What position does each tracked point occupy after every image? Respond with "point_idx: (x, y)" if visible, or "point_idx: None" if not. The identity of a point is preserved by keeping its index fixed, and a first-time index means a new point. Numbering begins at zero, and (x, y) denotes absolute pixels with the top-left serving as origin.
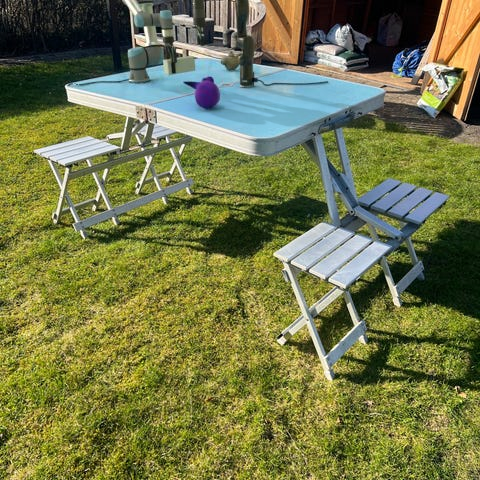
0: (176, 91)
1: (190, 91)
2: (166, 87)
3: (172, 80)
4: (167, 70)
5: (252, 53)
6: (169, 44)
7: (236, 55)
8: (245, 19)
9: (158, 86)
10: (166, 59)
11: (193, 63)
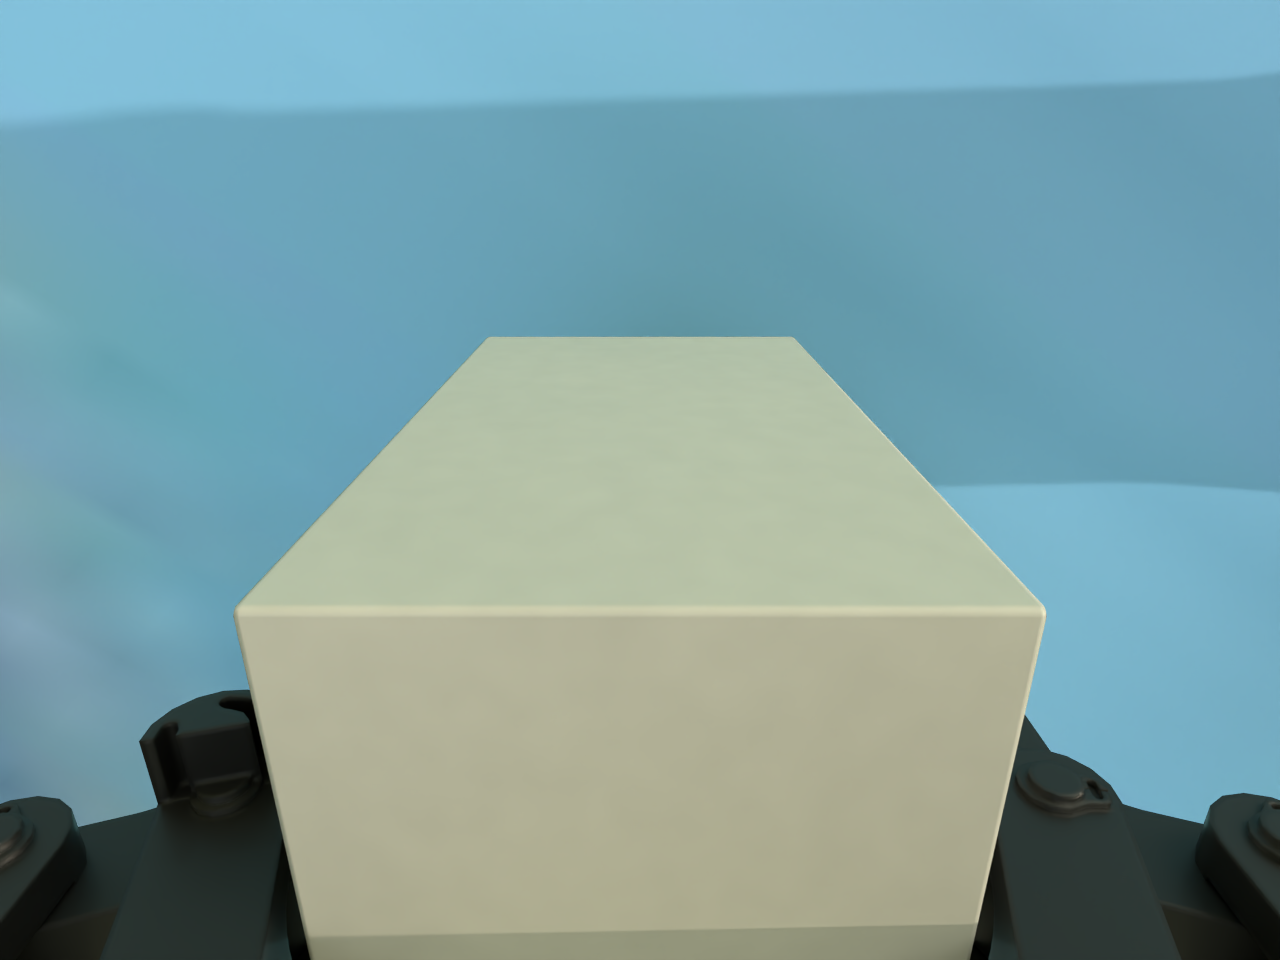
0: (248, 246)
1: (71, 462)
2: (796, 331)
3: (1234, 783)
4: (531, 376)
5: None
6: None
7: None
8: None
9: (1048, 258)
10: (948, 899)
11: None
